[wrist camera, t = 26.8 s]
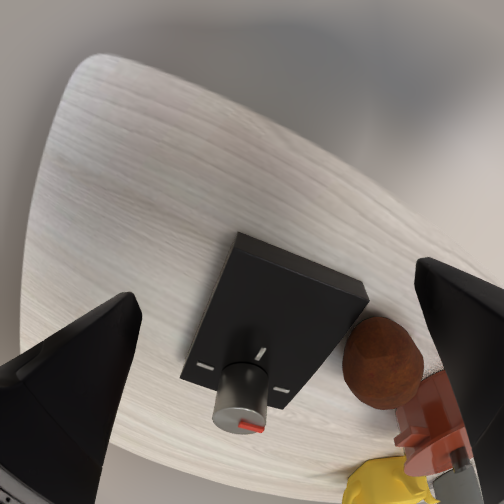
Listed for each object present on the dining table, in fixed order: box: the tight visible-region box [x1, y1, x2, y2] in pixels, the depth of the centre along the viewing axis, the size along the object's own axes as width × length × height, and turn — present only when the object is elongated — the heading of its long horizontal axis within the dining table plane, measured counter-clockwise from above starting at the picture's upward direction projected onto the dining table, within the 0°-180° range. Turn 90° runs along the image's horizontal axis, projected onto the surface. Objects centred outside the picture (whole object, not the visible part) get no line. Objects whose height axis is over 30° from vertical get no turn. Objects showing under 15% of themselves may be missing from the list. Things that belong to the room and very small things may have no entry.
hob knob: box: [212, 363, 268, 434], centre depth 23 cm, size 4×4×5 cm
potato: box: [342, 317, 424, 410], centre depth 22 cm, size 7×9×6 cm
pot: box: [394, 370, 464, 460], centre depth 26 cm, size 11×17×7 cm
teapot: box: [342, 456, 440, 504], centre depth 34 cm, size 15×14×10 cm
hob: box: [180, 232, 370, 410], centre depth 24 cm, size 15×10×3 cm, turn 158°
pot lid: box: [403, 423, 473, 477], centre depth 21 cm, size 12×12×4 cm
